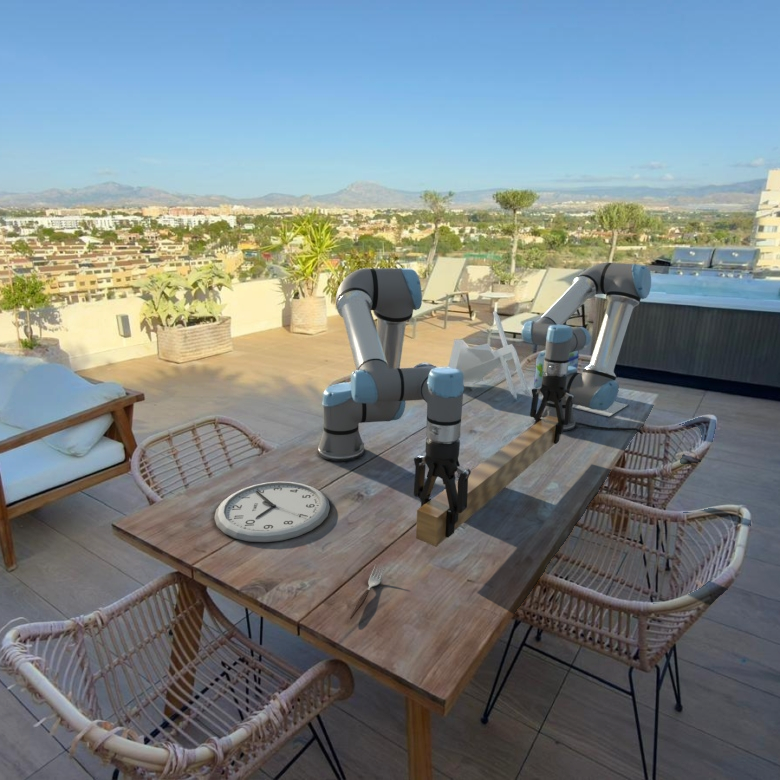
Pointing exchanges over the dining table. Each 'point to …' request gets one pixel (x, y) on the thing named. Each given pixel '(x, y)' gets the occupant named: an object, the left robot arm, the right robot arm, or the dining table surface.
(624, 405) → the invitation card
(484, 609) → the dining table surface
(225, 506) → the wall clock
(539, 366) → the lunch box
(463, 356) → the white plastic object
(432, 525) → the bar
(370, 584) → the fork
